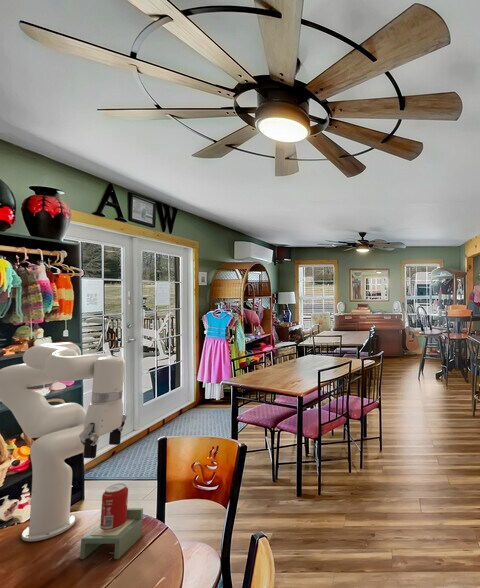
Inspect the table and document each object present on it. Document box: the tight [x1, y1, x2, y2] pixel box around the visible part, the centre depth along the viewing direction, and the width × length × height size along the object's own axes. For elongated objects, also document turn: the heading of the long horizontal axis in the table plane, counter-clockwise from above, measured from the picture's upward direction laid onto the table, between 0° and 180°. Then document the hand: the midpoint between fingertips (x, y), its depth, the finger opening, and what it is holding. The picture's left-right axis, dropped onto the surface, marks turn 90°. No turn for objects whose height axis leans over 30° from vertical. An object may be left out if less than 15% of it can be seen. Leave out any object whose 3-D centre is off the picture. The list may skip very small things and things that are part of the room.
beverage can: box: [100, 482, 129, 532], centre depth 106 cm, size 6×6×12 cm
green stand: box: [79, 507, 144, 560], centre depth 106 cm, size 11×10×9 cm
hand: (102, 450), depth 107 cm, fingers open, 9 cm apart
